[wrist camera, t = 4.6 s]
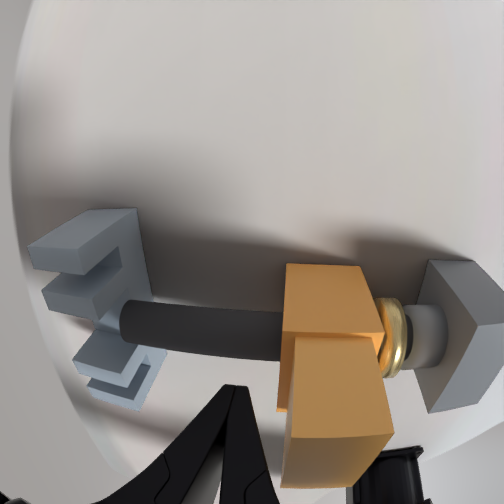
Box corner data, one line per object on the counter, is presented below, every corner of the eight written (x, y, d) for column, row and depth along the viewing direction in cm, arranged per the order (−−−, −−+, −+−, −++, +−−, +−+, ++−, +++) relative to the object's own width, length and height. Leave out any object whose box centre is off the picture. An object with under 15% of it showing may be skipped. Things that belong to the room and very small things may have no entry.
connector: (475, 261, 11) (527, 319, 7) (446, 338, 13) (477, 403, 9) (401, 258, 12) (445, 328, 7) (378, 342, 14) (398, 417, 10)
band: (390, 282, 12) (415, 333, 9) (374, 341, 13) (388, 394, 10) (374, 282, 12) (394, 333, 9) (359, 341, 13) (370, 395, 10)
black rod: (440, 304, 11) (458, 332, 9) (427, 338, 12) (440, 366, 10) (134, 291, 13) (114, 316, 11) (143, 325, 14) (126, 351, 12)
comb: (136, 208, 13) (77, 249, 8) (167, 354, 16) (139, 411, 12) (88, 209, 13) (27, 246, 9) (125, 346, 17) (93, 397, 13)
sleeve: (359, 266, 12) (412, 426, 5) (344, 342, 14) (361, 487, 7) (286, 263, 12) (273, 432, 5) (282, 340, 14) (267, 488, 7)
